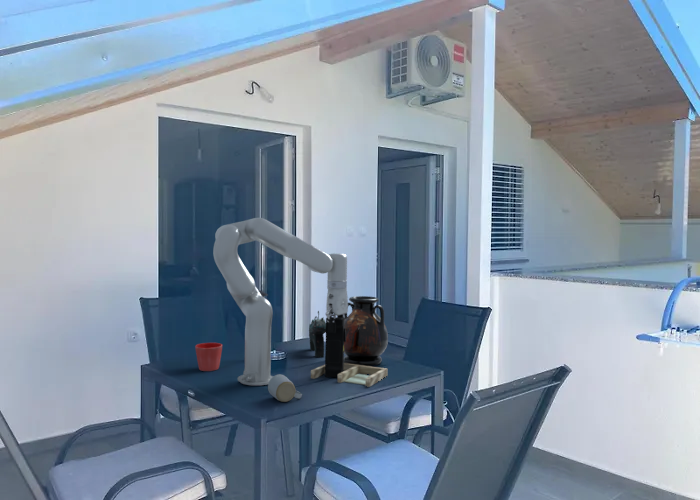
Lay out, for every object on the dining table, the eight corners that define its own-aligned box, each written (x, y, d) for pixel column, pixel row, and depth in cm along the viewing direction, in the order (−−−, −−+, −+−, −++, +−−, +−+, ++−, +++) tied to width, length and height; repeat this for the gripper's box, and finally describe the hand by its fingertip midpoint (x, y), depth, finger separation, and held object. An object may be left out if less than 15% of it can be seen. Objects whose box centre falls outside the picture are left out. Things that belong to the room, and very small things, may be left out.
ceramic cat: (326, 358, 253) (327, 313, 252) (312, 358, 251) (313, 313, 251) (319, 348, 272) (319, 307, 271) (305, 349, 271) (306, 307, 270)
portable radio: (346, 374, 225) (347, 311, 225) (344, 377, 219) (345, 312, 219) (326, 373, 226) (327, 310, 225) (324, 376, 220) (325, 312, 219)
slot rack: (369, 386, 207) (369, 378, 207) (310, 378, 218) (310, 370, 218) (387, 376, 223) (387, 368, 223) (332, 368, 234) (332, 361, 234)
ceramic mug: (275, 404, 185) (276, 381, 185) (267, 397, 192) (267, 375, 192) (305, 401, 190) (306, 378, 190) (296, 394, 197) (297, 372, 197)
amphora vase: (395, 360, 251) (396, 297, 250) (374, 370, 231) (376, 302, 230) (351, 354, 260) (352, 293, 259) (328, 364, 241) (329, 298, 240)
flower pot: (189, 370, 226) (189, 346, 226) (204, 364, 236) (204, 341, 236) (213, 373, 223) (213, 348, 222) (227, 367, 233) (227, 343, 233)
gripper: (335, 287, 212) (334, 335, 212) (355, 284, 227) (354, 328, 228) (317, 286, 215) (316, 333, 216) (338, 283, 231) (337, 327, 231)
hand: (336, 330), depth 222 cm, fingers closed on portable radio, 6 cm apart
